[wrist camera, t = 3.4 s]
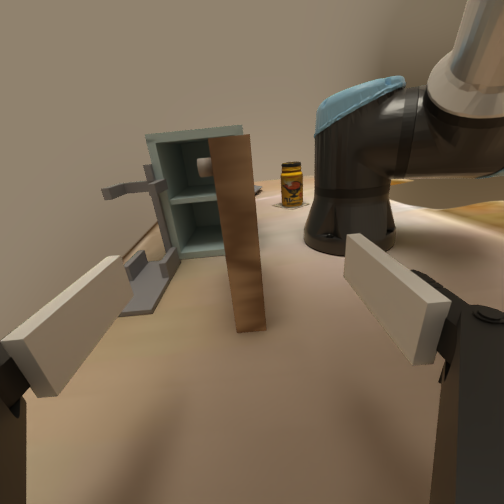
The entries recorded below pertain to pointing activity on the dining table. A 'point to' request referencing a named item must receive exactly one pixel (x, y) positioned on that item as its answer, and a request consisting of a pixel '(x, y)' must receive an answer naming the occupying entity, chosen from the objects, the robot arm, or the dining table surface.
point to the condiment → (291, 186)
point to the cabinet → (174, 211)
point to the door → (238, 225)
